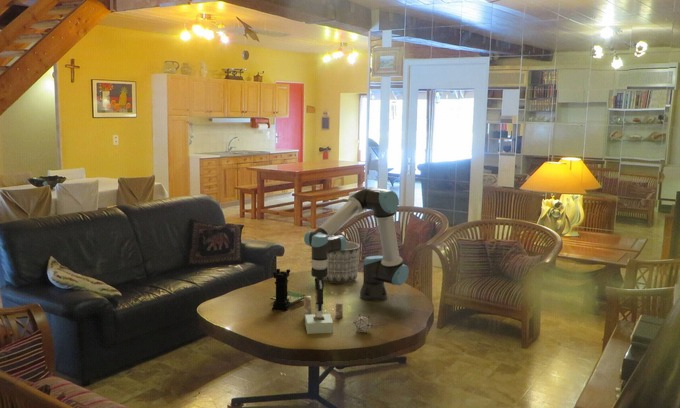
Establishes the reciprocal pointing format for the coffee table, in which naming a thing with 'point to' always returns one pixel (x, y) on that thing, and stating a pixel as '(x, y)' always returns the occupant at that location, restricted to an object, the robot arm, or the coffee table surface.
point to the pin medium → (307, 305)
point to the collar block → (318, 324)
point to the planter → (343, 264)
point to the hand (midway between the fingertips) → (319, 315)
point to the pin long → (316, 308)
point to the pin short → (339, 310)
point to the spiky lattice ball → (362, 324)
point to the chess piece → (281, 290)
